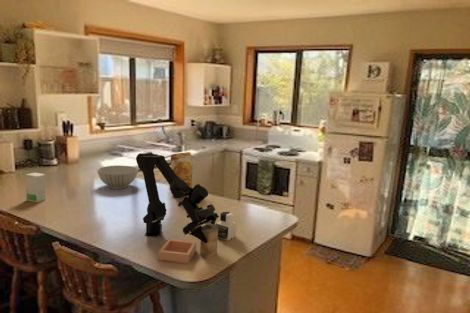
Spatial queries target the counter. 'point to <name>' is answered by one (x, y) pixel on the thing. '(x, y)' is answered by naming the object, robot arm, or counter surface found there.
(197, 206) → the robot arm
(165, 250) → the pink square tray
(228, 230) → the medicine bottle
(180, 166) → the pancake mix bag
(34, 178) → the skincare box
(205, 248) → the brown rectangular block
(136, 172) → the decorative bowl
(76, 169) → the counter surface
